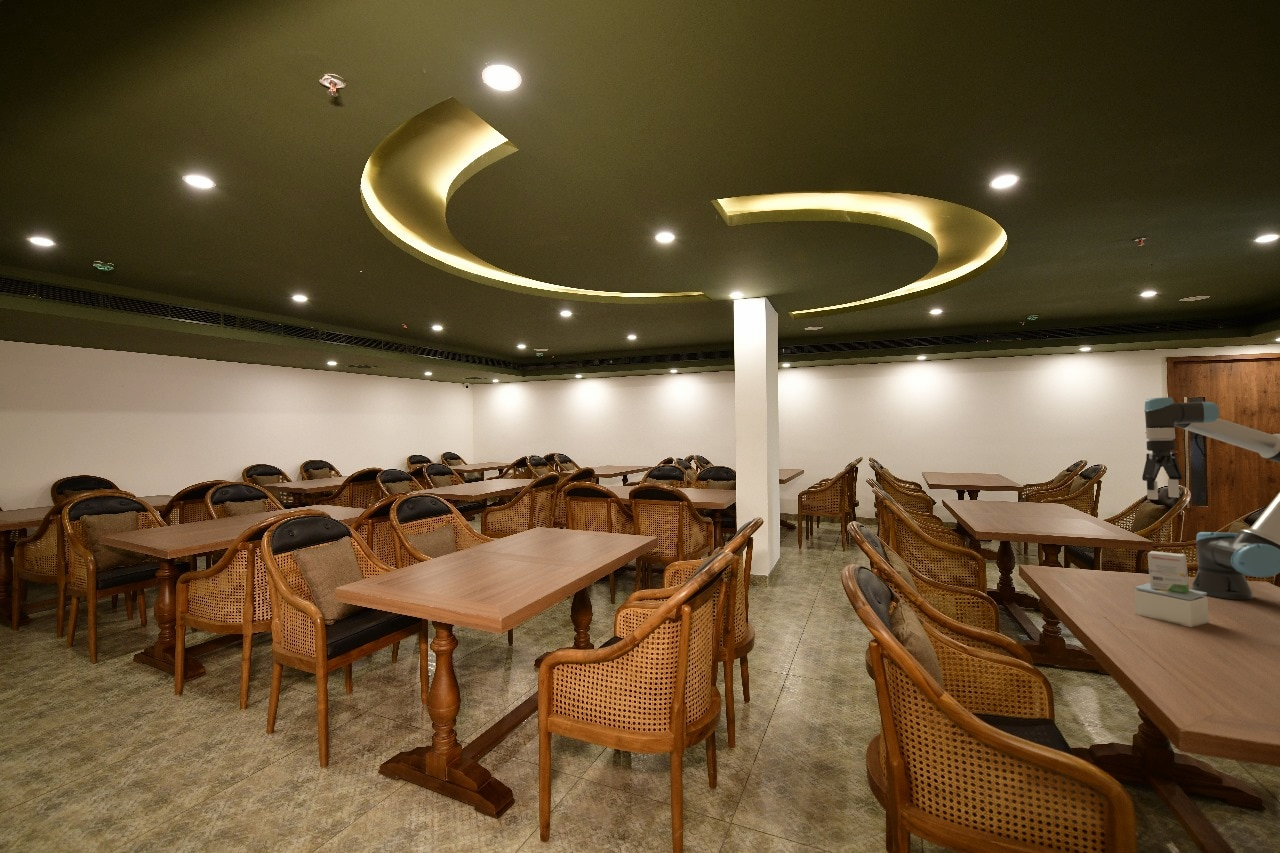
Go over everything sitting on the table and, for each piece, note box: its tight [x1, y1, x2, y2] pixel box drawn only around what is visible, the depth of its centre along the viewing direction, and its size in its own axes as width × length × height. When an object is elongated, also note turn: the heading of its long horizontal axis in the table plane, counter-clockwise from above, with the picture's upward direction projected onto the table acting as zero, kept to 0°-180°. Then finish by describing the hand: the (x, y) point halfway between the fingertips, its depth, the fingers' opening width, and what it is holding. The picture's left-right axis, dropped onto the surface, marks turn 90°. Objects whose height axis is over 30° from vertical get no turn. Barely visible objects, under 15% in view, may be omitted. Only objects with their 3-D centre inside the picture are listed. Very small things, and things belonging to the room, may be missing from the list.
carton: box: [1133, 589, 1210, 628], centre depth 172 cm, size 10×14×8 cm
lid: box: [1133, 582, 1208, 600], centre depth 172 cm, size 10×14×1 cm
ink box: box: [1147, 550, 1190, 593], centre depth 172 cm, size 8×5×12 cm, turn 36°
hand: (1163, 498), depth 192 cm, fingers open, 13 cm apart
